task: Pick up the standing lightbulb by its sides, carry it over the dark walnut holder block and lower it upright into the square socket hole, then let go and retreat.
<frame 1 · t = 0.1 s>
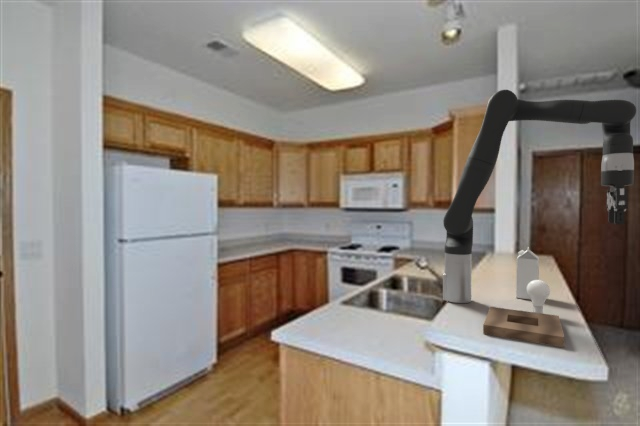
hand: (616, 223, 107), 29 cm above the countertop, fingers open, 8 cm apart
holder block: (522, 328, 100), on the countertop
milk carton: (527, 298, 135), on the countertop
lightbulb: (537, 315, 113), on the countertop
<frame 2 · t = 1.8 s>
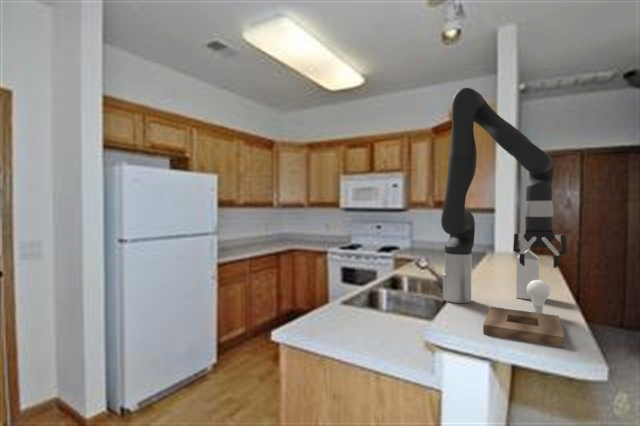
hand: (538, 266, 113), 15 cm above the countertop, fingers open, 8 cm apart
nothing on the countertop moved.
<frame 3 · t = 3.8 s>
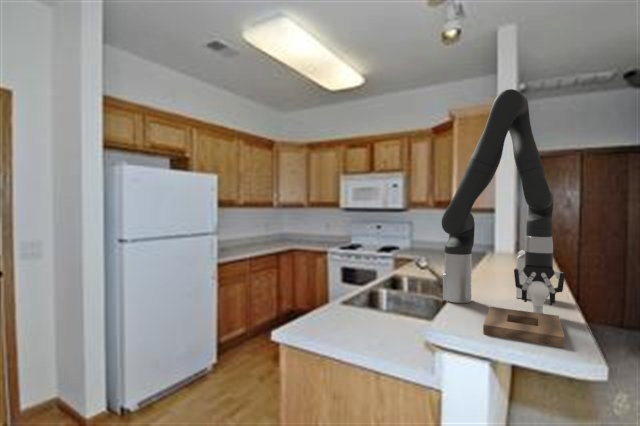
hand: (538, 302, 113), 4 cm above the countertop, fingers closed on lightbulb, 6 cm apart
lightbulb: (537, 315, 113), on the countertop, touching gripper
everything else where it was.
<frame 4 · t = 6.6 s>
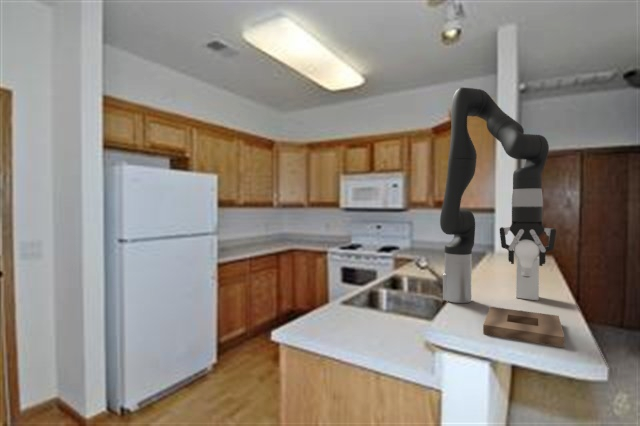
hand: (526, 264, 101), 18 cm above the countertop, fingers closed on lightbulb, 6 cm apart
lightbulb: (526, 278, 101), point 14 cm above the countertop, touching gripper
everything else where it was.
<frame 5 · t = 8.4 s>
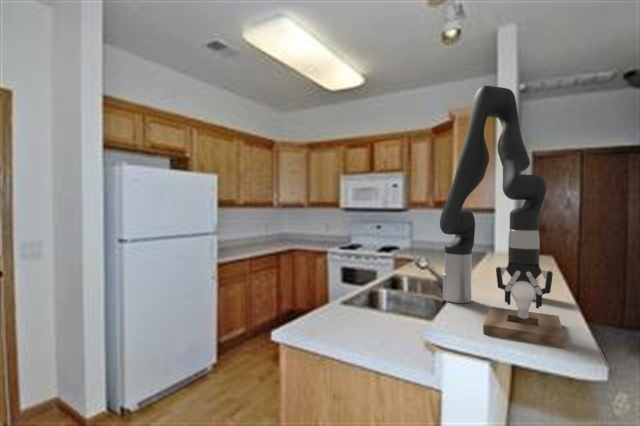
hand: (523, 305, 100), 6 cm above the countertop, fingers closed on lightbulb, 6 cm apart
lightbulb: (523, 319, 100), point 3 cm above the countertop, touching gripper
everything else where it was.
when the fingers open (5 cm above the countertop, at t = 9.7 s): lightbulb stays where it is, resting in holder block.
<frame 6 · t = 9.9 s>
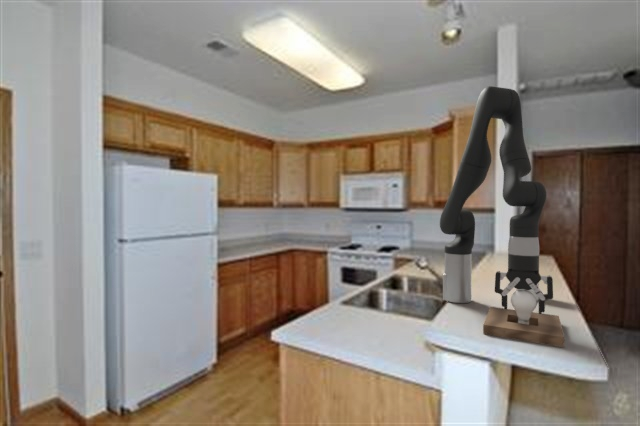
hand: (522, 310, 100), 5 cm above the countertop, fingers open, 8 cm apart
lightbulb: (523, 329, 100), resting in holder block
everything else where it was.
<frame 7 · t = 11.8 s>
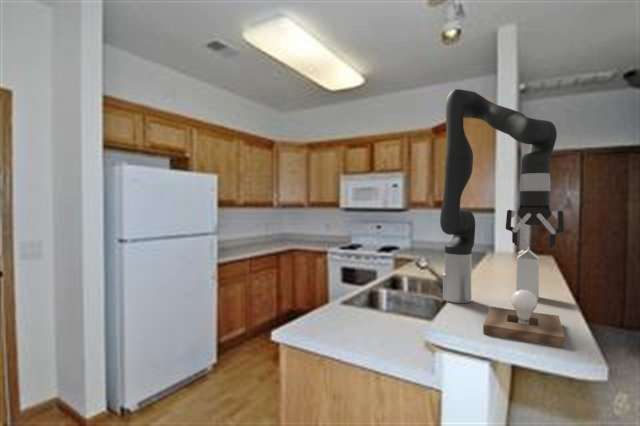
hand: (533, 246, 103), 23 cm above the countertop, fingers open, 8 cm apart
nothing on the countertop moved.
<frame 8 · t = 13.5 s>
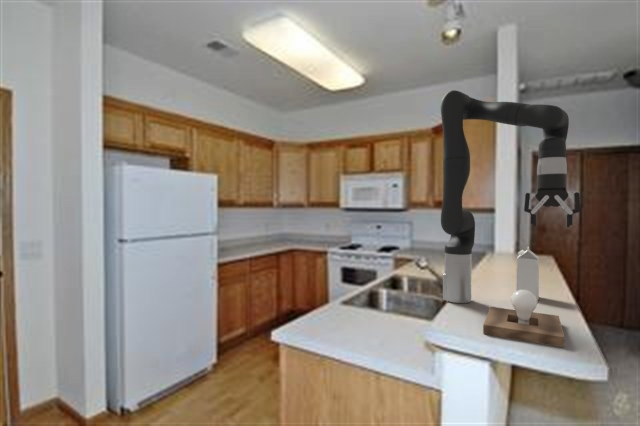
hand: (550, 226, 109), 28 cm above the countertop, fingers open, 8 cm apart
nothing on the countertop moved.
at the end: lightbulb 0.3 cm off-centre on the holder block, point 0.0 cm above the holder block's base; lightbulb tilted 0°; the gripper is holding nothing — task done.
